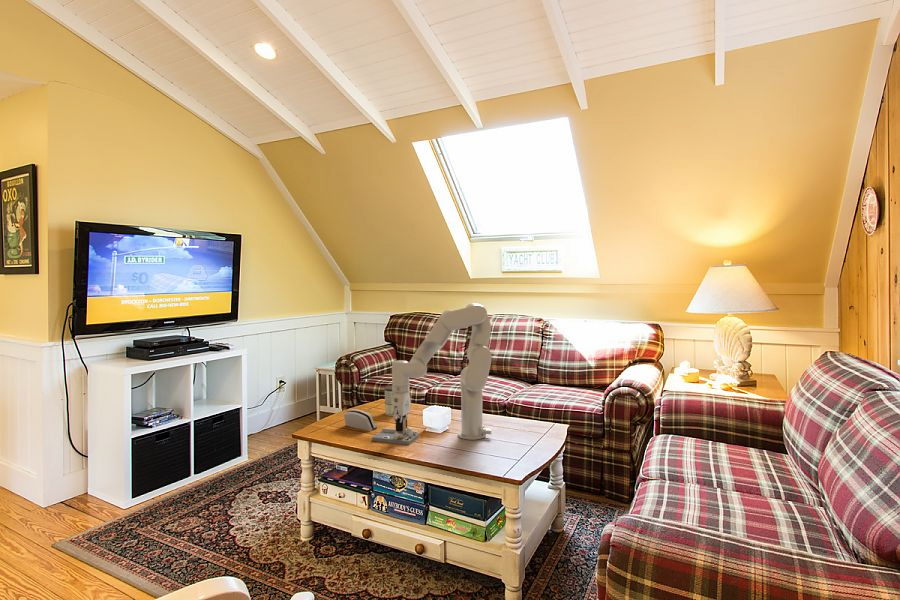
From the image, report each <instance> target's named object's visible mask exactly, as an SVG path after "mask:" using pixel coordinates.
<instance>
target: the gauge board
mask: <svg viewBox="0 0 900 600" xmlns="http://www.w3.org/2000/svg"><path fill="white" fill-rule="evenodd" d="M406 430H407V436H405V437H404V438H398V439H395V436H394V433H395V432H397V431H396V428H390V427H389V428H388V427H382V428H381V431H380V432H378V433H376V434H375V435H374V436H372V438H371V441H373V442H382V443H389V444H398V445H407V446H410V445H411V444H412V443H414V442H416V440H418V439H419V434H418V431H417V430H413V428H412V427H407V428H406Z"/></svg>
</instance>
